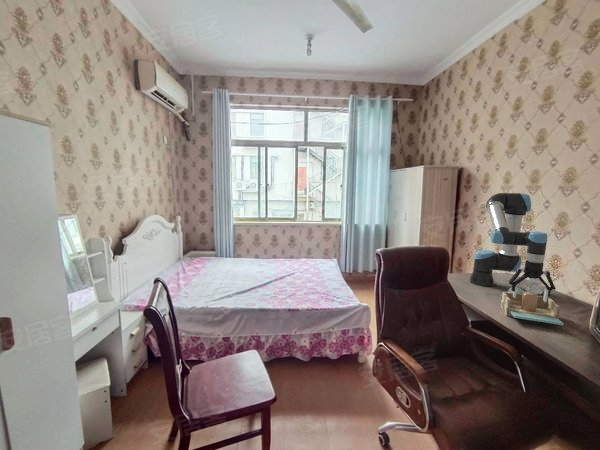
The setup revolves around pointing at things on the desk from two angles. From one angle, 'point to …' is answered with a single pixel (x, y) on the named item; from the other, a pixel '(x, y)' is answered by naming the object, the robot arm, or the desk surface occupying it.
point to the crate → (515, 305)
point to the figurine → (534, 286)
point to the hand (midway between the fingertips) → (529, 299)
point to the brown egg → (529, 301)
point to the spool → (517, 290)
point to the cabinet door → (536, 317)
